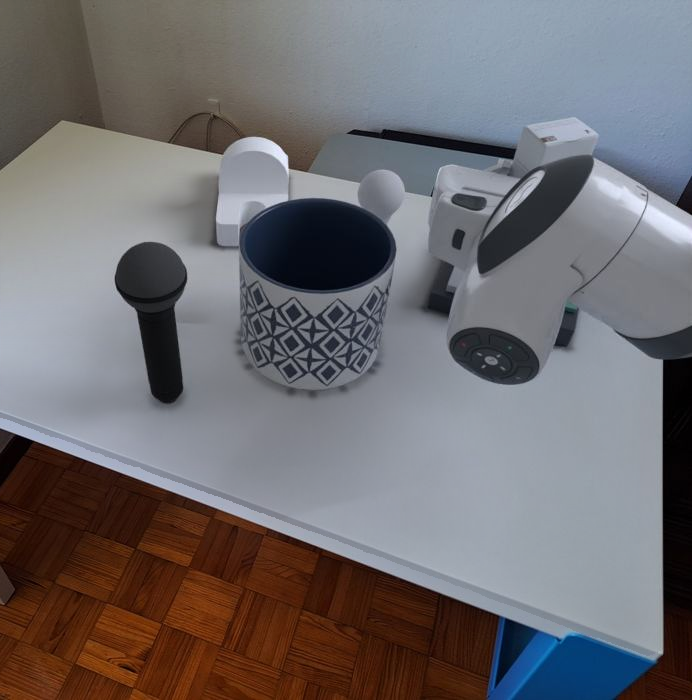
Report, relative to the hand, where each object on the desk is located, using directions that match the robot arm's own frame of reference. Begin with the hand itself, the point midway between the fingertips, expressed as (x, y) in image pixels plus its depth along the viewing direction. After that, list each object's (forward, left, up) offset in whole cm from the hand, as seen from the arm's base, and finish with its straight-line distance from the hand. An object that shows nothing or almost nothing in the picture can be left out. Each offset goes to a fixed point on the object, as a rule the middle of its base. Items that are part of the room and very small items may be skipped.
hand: (545, 173), depth 72 cm
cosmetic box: (0, +1, -7) cm, 7 cm away
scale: (0, 0, -17) cm, 17 cm away
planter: (+19, +18, -17) cm, 31 cm away
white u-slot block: (+36, -4, -17) cm, 40 cm away
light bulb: (+18, -4, -17) cm, 25 cm away
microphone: (+30, +32, -17) cm, 47 cm away
